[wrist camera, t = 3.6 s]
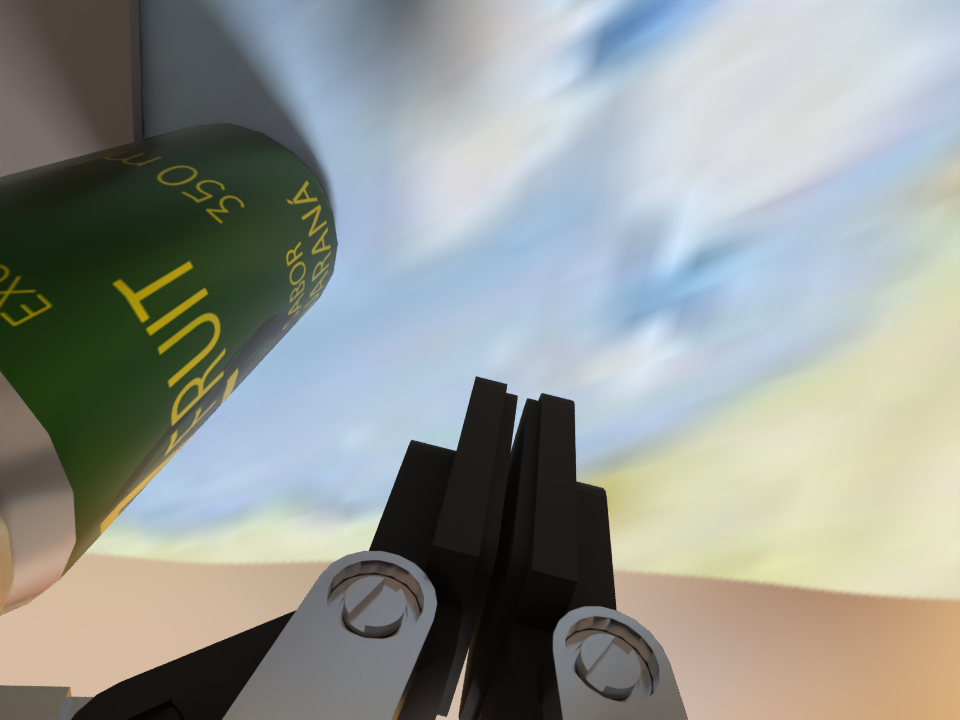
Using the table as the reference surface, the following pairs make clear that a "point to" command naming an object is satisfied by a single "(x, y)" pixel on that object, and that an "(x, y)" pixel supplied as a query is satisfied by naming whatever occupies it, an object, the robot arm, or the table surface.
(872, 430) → the table surface
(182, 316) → the green soda can
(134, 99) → the mat
